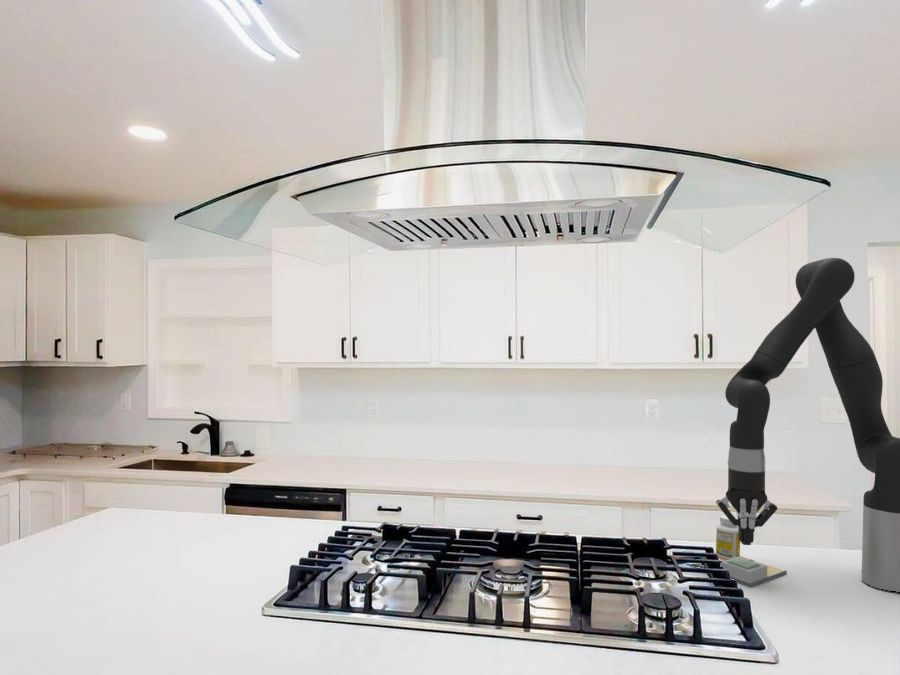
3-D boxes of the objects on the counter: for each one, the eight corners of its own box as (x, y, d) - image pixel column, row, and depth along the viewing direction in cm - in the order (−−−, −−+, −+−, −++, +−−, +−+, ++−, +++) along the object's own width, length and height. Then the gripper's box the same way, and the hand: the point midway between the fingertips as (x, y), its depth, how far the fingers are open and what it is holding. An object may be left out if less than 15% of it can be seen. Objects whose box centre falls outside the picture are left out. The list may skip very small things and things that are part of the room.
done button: (758, 574, 138) (758, 563, 138) (747, 578, 136) (747, 567, 136) (739, 568, 142) (740, 557, 142) (728, 572, 139) (729, 561, 139)
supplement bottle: (723, 560, 147) (724, 520, 147) (711, 552, 152) (712, 514, 152) (744, 560, 148) (745, 520, 148) (732, 552, 153) (733, 514, 153)
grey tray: (786, 574, 142) (787, 560, 142) (751, 587, 134) (751, 572, 134) (722, 553, 155) (722, 540, 155) (686, 564, 147) (686, 550, 147)
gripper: (719, 469, 136) (719, 547, 136) (783, 472, 134) (783, 551, 134) (711, 462, 144) (711, 536, 143) (772, 465, 141) (772, 540, 141)
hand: (746, 543), depth 139 cm, fingers closed
